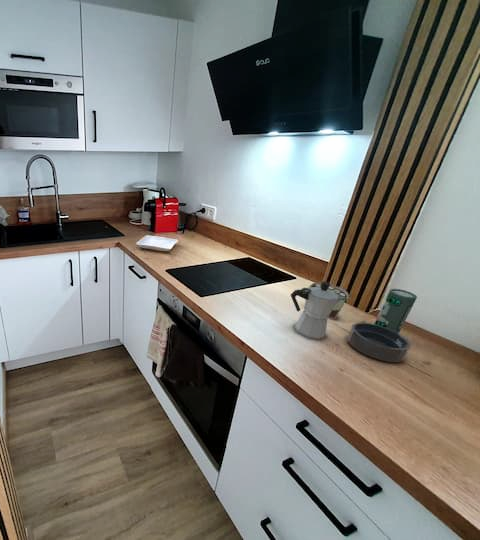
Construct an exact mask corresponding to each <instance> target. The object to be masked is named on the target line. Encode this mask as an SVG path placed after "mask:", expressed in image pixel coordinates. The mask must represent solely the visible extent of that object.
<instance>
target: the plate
mask: <svg viewBox="0 0 480 540" xmlns="http://www.w3.org/2000/svg"><path fill="white" fill-rule="evenodd" d="M179 241H180V240H179V239H176V238H171V237H166V236H165V237H164V236H157V235H149V234H147V235H145V236H144V237H142V238H141V239H140V240H138V241H137V242H135V245H136V246H137V247H140V248H143V249H145V250H146V249H147V250H151V251H158V252H170V251H172V249H173V247H174V246H175V245H176V244H177V243H178V242H179Z"/></svg>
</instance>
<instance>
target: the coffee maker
mask: <svg viewBox="0 0 480 540" xmlns="http://www.w3.org/2000/svg"><path fill="white" fill-rule="evenodd" d="M321 283H322V286H321V288H319V287H310V286H309V287H302V288H301V289H294V291H292V293H291V294H290V297H291V300H292V302H293V304H294V307H295V309H296V312H300V311H301V307H300V305H299V303H298V300H297V296H298V297H300V298H301V299H304V300H305V303H304V310H303V311H302V313H301V314H300V315H299V317H298V319H297V321H296V322H295V325H294V329H295V331H296V332H297V333H298V334H299V335H302V336H303V337H305V338H307V339H312V340H319V341H320V340H322V339H323V338H326V334H327V333H326V332H327V327H328V319H329V317H327V316H329V315H330V313H331V311H332V310H333V308H334V306H335V305H336V304H337V303H338V302H339V301H341V300H342V299H344V298H345V297H342V296H340V295H338V294H336V293H334V292H332V291H331V290H327V289H328V288H329V286H330V285H331V283H330V282H328V281H321Z"/></svg>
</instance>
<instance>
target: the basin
mask: <svg viewBox="0 0 480 540" xmlns="http://www.w3.org/2000/svg"><path fill="white" fill-rule="evenodd" d="M346 340H347V342H348V344H349V345H351V347H353V348H354V349H356V350H357V351H358V352H360V353H361V354H363V355H365V356H367V357H369V358H372V359H375V360H378V361H382V362H387V363H401V362H402V361H404V360H405V359H406V357H407V355H408V353H409V351H410V349H411V343H410V341H409V340H408V338H406V337H405V336H404V335H402V334H401V333H400V332H399V333H397V332H395V331H393V330H390V329H388V328H386V327H383V326H379V325H376V324H375V323H371V322H355V323H353V324H352V326H351V328H350V331H349V333H348V334H347V339H346Z"/></svg>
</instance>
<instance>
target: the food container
mask: <svg viewBox="0 0 480 540" xmlns="http://www.w3.org/2000/svg"><path fill="white" fill-rule="evenodd" d="M321 286H322V282H313V283H311V284H310V285H309V287H319V288H321ZM327 290H331V291H332V292H334V293H336V294H338V295H340V296H342V297H345V298H344V299H342V300H341V301H339V302H338V303H337V304H336V305H335V306H334V308H333V310H332V311H331V313H330V315H329V316H327V318H328V319H332V320H334V321H335V320H336V319H337V317H338V315H339V313H340V312H341V311H342V308H343V306H344V304H345V303H347V302H349V297H350V296H349V292H348V291H346V290H345V289H343V288H341V287H339V286H336V285H334V284H330V286H329V288H328V289H327Z"/></svg>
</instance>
